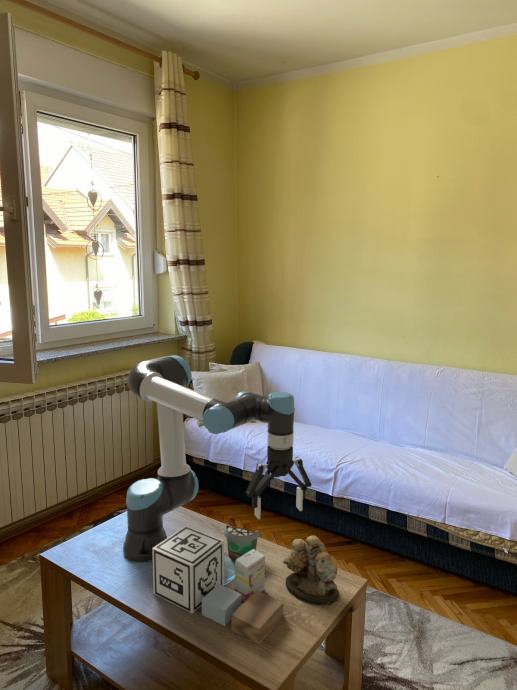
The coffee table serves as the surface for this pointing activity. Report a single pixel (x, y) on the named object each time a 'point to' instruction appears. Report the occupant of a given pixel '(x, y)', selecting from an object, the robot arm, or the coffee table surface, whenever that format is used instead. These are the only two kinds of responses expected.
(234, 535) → the food container
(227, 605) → the slate block
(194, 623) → the coffee table surface
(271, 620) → the walnut block
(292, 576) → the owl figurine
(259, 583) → the ink box
